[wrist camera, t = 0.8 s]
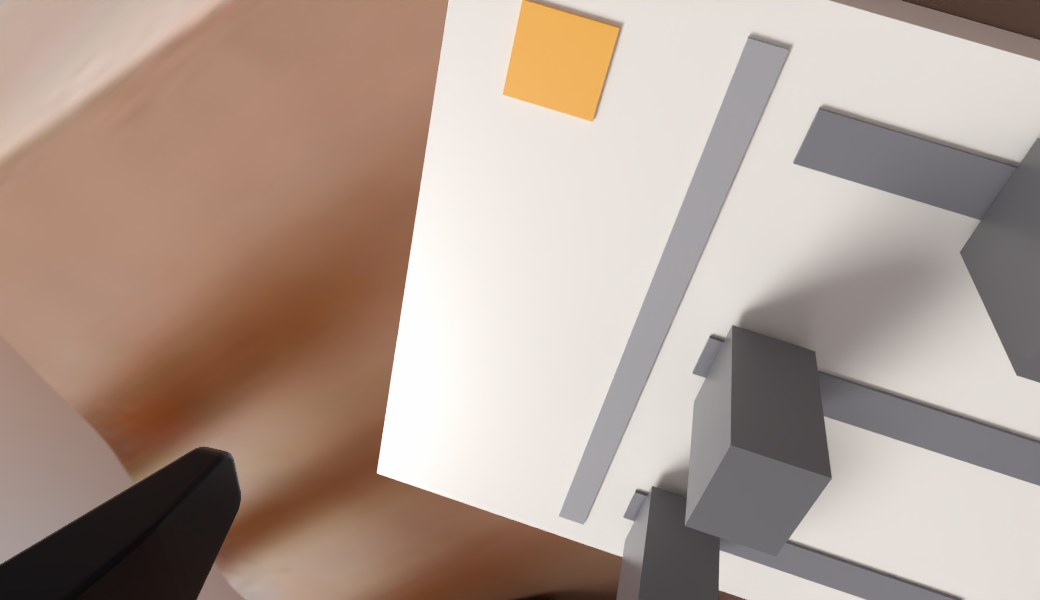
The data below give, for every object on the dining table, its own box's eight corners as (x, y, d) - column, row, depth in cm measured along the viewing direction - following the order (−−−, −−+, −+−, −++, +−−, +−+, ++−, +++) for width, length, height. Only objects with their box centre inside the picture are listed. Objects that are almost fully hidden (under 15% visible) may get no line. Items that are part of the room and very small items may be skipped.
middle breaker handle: (815, 351, 18) (831, 478, 14) (770, 427, 19) (775, 556, 16) (732, 325, 18) (730, 445, 15) (693, 401, 19) (684, 525, 16)
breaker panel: (1640, 211, 14) (1758, 269, 13) (1067, 655, 25) (1091, 720, 23) (492, -117, 16) (463, -104, 14) (399, 430, 26) (375, 475, 24)
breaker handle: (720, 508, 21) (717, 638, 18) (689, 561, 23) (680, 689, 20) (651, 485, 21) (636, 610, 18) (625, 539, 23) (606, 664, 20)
